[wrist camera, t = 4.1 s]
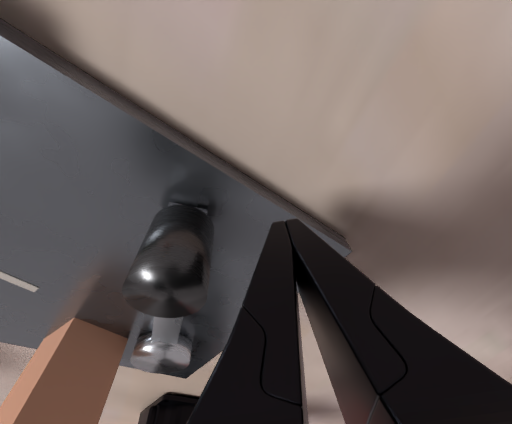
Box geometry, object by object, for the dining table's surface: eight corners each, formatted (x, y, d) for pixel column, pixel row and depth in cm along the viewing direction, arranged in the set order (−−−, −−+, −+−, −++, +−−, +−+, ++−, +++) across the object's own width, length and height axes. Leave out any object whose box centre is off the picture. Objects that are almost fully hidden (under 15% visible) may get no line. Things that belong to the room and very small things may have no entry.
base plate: (344, 238, 13) (352, 251, 12) (188, 365, 20) (185, 378, 20) (-35, -4, 6) (-75, -10, 6) (-56, 311, 14) (-74, 328, 13)
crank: (188, 359, 17) (178, 424, 14) (135, 355, 17) (113, 424, 14) (235, 205, 10) (235, 278, 7) (141, 185, 9) (95, 258, 6)
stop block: (128, 338, 15) (90, 445, 11) (97, 356, 17) (52, 459, 13) (74, 317, 14) (7, 434, 10) (43, 339, 15) (-29, 452, 11)
